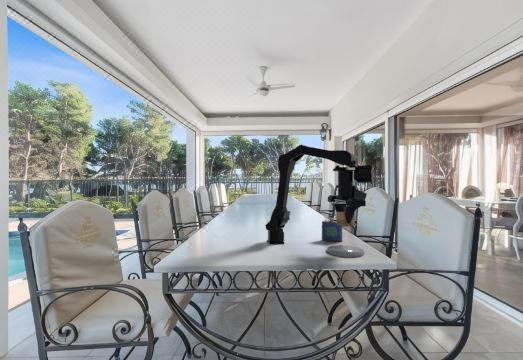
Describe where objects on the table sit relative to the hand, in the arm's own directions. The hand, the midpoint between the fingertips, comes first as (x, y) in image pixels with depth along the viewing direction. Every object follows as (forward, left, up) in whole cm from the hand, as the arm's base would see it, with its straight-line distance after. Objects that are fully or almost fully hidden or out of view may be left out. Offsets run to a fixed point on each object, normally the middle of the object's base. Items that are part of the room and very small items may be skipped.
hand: (345, 222), depth 112 cm
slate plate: (0, 0, -12) cm, 12 cm away
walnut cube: (0, 0, -1) cm, 1 cm away
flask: (+4, +18, -12) cm, 22 cm away
